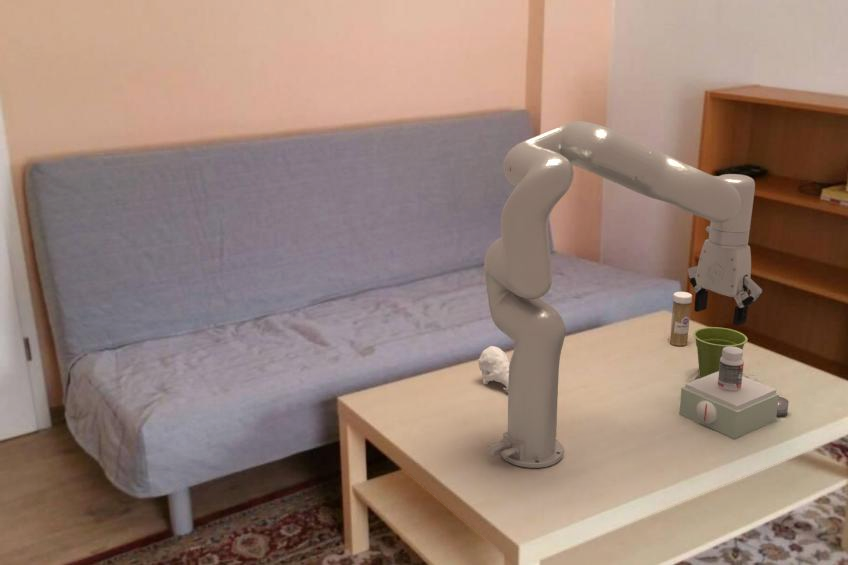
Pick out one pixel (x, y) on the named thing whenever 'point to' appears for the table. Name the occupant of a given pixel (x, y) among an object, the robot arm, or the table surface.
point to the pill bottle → (731, 369)
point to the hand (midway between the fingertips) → (719, 317)
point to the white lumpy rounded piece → (494, 366)
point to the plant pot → (715, 346)
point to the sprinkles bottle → (680, 318)
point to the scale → (729, 405)
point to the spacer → (782, 407)
